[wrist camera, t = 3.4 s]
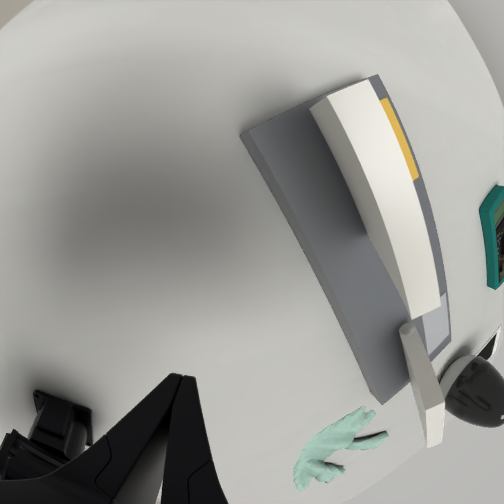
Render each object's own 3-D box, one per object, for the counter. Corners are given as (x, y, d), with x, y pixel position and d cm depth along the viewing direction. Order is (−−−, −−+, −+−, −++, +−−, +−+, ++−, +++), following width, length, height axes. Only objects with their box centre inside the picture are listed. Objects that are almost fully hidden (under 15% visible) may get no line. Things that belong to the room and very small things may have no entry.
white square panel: (368, 236, 19) (411, 319, 11) (308, 109, 16) (326, 95, 8) (386, 228, 19) (441, 305, 10) (329, 99, 16) (368, 79, 7)
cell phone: (493, 349, 40) (495, 351, 39) (450, 395, 38) (452, 397, 37) (499, 323, 38) (501, 324, 37) (456, 371, 35) (458, 373, 35)
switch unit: (371, 393, 28) (382, 405, 26) (239, 136, 18) (248, 129, 16) (438, 332, 29) (452, 341, 27) (360, 81, 19) (379, 73, 17)
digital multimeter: (484, 289, 32) (498, 294, 29) (475, 207, 27) (492, 210, 24) (502, 261, 32) (515, 265, 30) (493, 182, 27) (509, 184, 25)
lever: (409, 380, 26) (427, 448, 18) (397, 326, 23) (425, 410, 14) (422, 375, 25) (441, 442, 17) (412, 320, 22) (445, 401, 14)
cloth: (361, 387, 28) (372, 398, 26) (408, 425, 36) (415, 432, 34) (241, 477, 28) (245, 490, 26) (322, 491, 36) (327, 500, 34)
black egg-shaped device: (469, 363, 36) (523, 401, 22) (433, 405, 35) (484, 451, 21) (467, 334, 32) (534, 375, 18) (426, 382, 32) (490, 437, 18)
